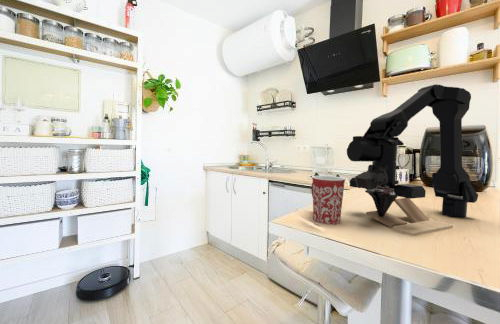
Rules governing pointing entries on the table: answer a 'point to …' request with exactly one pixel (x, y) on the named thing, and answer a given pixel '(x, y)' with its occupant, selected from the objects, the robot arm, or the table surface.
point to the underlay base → (422, 227)
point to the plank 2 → (411, 210)
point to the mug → (327, 198)
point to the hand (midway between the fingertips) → (381, 216)
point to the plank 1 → (386, 219)
